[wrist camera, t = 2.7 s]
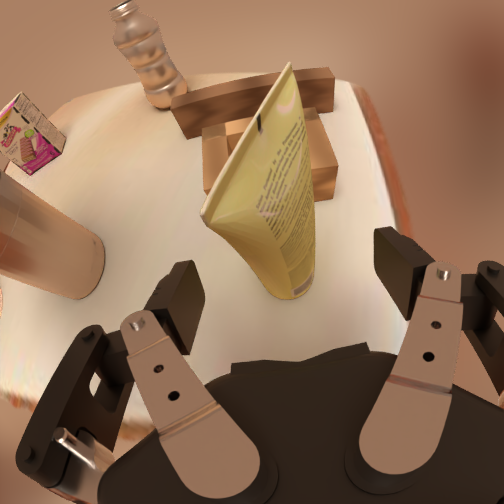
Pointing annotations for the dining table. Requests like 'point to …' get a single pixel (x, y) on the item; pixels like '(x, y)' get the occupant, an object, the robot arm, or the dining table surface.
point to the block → (228, 134)
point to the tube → (270, 194)
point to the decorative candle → (1, 302)
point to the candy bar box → (28, 135)
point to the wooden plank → (247, 99)
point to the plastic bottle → (147, 53)
